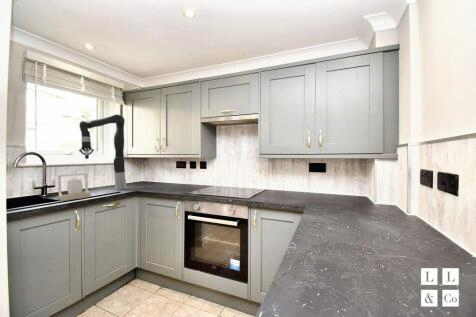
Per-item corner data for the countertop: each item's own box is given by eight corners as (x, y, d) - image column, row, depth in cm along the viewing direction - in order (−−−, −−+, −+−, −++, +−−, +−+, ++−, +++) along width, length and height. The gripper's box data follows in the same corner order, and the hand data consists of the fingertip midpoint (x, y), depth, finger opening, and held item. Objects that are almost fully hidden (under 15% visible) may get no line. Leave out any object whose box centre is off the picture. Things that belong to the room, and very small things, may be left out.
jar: (64, 198, 176) (63, 180, 175) (76, 195, 186) (75, 178, 185) (74, 198, 173) (73, 180, 173) (86, 196, 183) (85, 178, 183)
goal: (58, 198, 176) (57, 174, 176) (88, 194, 190) (86, 172, 190) (60, 200, 166) (58, 175, 166) (91, 196, 180) (90, 173, 180)
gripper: (78, 141, 204) (79, 159, 204) (94, 141, 213) (95, 158, 214) (77, 141, 209) (78, 159, 210) (93, 141, 219) (94, 158, 219)
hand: (87, 158), depth 212 cm, fingers closed
